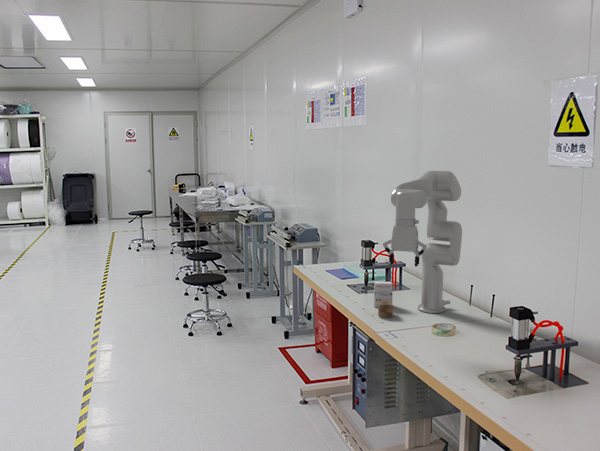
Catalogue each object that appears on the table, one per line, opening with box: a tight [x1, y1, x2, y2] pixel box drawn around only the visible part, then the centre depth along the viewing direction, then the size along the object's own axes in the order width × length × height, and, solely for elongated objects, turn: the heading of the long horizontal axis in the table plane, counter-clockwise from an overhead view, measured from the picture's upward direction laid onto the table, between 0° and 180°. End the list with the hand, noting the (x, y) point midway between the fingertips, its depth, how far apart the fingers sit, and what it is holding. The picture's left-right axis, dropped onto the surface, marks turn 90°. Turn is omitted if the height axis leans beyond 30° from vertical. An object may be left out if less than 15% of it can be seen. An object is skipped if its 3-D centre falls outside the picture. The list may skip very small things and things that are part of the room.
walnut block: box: [377, 300, 394, 319], centre depth 244 cm, size 6×6×6 cm
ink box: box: [373, 281, 393, 308], centre depth 258 cm, size 9×5×12 cm, turn 84°
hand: (404, 265), depth 214 cm, fingers open, 9 cm apart
